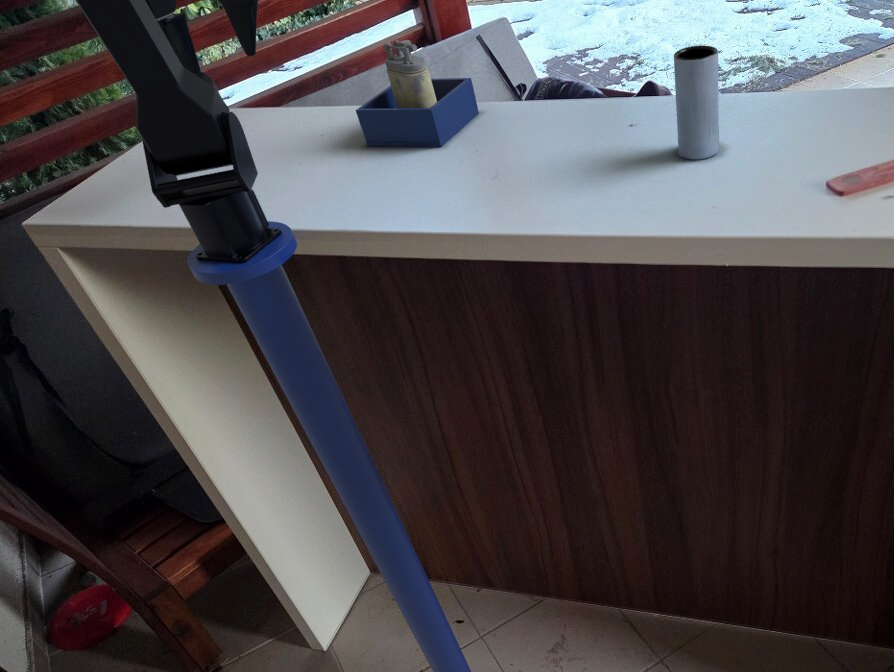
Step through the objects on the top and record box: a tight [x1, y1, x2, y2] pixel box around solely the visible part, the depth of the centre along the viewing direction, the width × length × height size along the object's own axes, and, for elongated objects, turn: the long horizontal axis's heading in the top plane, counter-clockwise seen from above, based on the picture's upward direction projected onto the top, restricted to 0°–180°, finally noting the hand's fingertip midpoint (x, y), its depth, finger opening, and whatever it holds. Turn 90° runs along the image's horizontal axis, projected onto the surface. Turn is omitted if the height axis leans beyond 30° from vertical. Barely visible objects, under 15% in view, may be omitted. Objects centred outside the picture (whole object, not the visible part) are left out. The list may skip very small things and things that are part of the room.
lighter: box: [383, 39, 437, 108], centre depth 96 cm, size 7×4×10 cm, turn 45°
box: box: [355, 77, 480, 148], centre depth 99 cm, size 11×11×5 cm
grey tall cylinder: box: [673, 45, 720, 160], centre depth 80 cm, size 4×4×10 cm
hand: (225, 69), depth 85 cm, fingers open, 9 cm apart
